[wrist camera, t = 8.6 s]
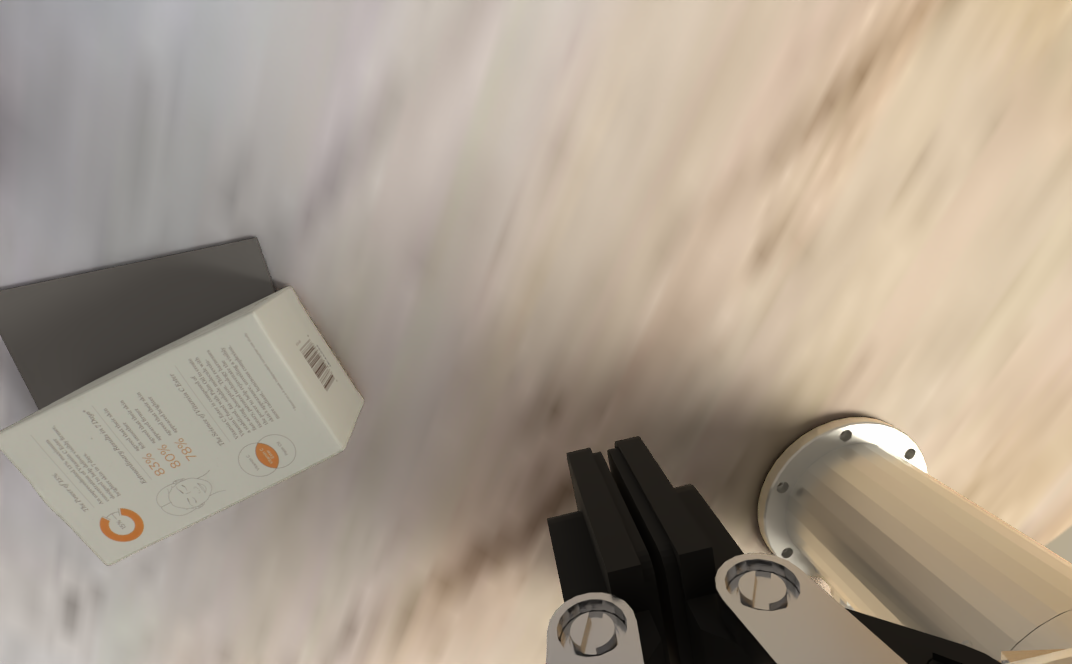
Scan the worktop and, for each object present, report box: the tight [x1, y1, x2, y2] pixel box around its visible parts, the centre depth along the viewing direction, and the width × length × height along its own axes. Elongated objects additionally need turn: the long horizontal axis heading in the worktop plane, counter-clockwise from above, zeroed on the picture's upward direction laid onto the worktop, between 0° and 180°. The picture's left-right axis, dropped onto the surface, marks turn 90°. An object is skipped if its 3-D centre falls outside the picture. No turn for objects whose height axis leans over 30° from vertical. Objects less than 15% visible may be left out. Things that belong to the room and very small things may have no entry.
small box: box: [0, 286, 364, 566], centre depth 28 cm, size 8×6×13 cm
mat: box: [0, 237, 276, 410], centre depth 30 cm, size 12×14×1 cm
